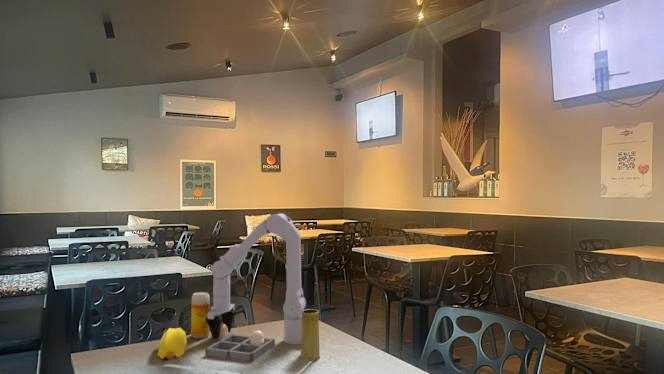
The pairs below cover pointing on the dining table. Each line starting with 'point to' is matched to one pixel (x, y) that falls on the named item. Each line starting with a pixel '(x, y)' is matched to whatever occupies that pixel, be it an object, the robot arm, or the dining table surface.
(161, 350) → the yellow banana
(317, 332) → the vase
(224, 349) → the gray compartment tray
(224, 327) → the brown egg
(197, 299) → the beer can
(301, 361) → the dining table surface
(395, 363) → the dining table surface
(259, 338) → the cream egg
